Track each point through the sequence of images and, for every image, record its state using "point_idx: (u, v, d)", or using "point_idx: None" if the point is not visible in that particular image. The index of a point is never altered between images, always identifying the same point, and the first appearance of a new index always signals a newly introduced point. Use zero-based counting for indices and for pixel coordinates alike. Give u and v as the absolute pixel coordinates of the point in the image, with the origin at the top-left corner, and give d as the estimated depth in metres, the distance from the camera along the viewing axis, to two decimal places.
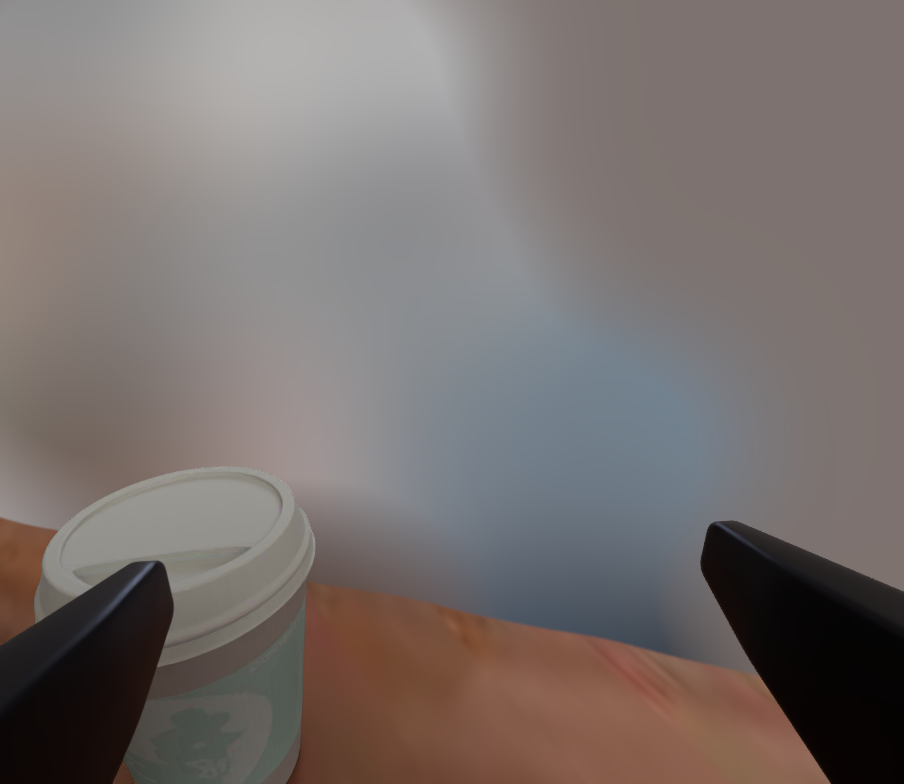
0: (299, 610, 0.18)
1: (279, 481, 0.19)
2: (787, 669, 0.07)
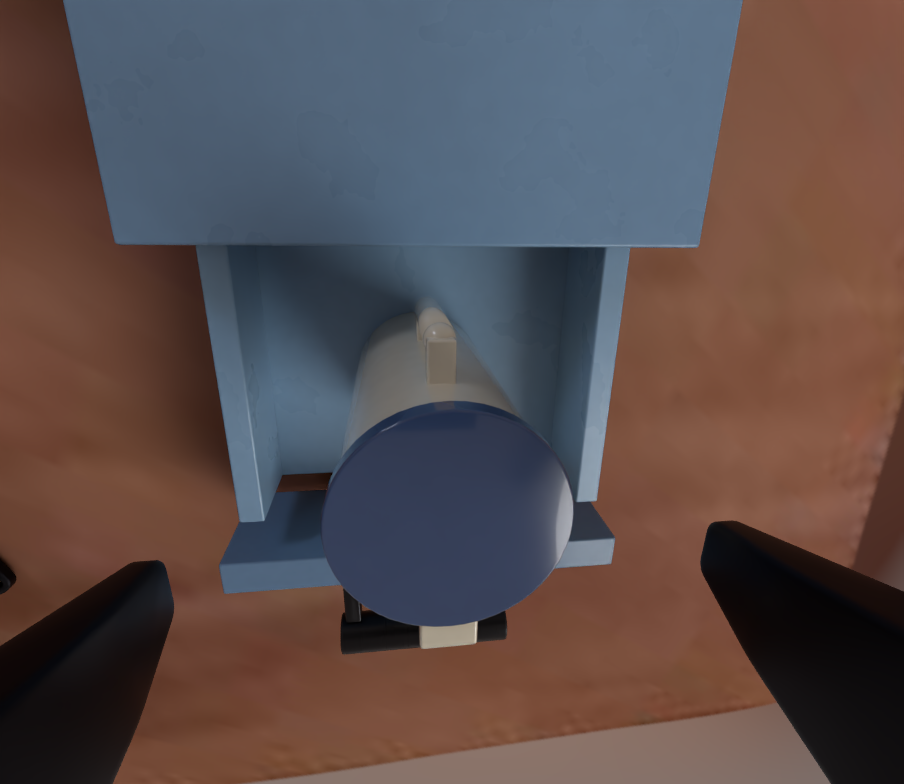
0: None
1: None
2: (787, 669, 0.07)
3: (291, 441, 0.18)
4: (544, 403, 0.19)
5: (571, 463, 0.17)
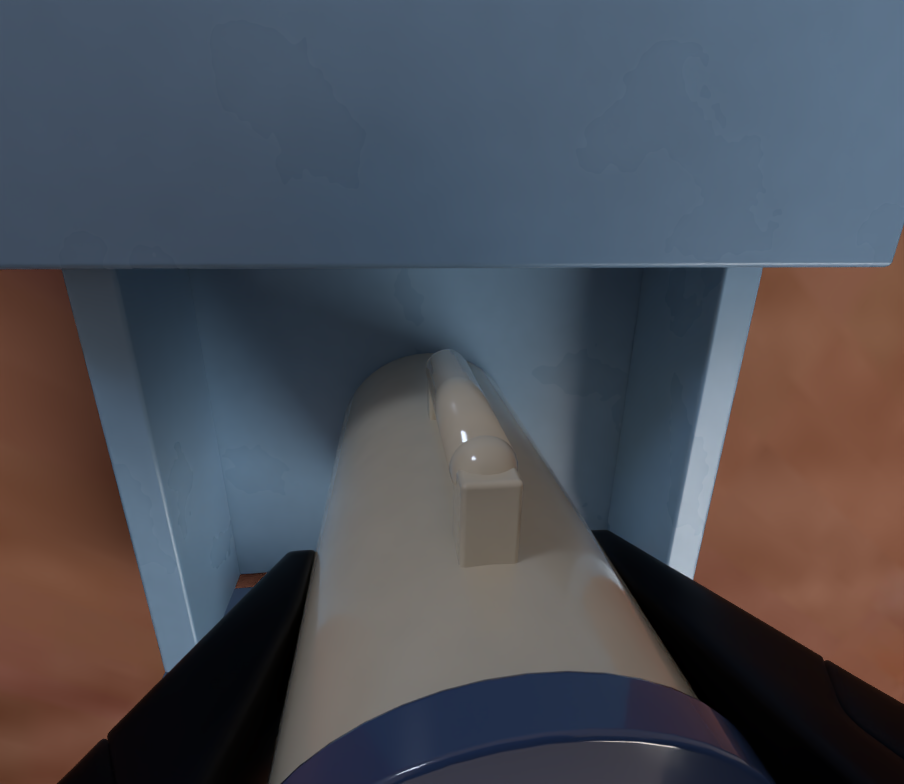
0: None
1: None
2: None
3: (251, 531, 0.13)
4: (600, 472, 0.14)
5: None
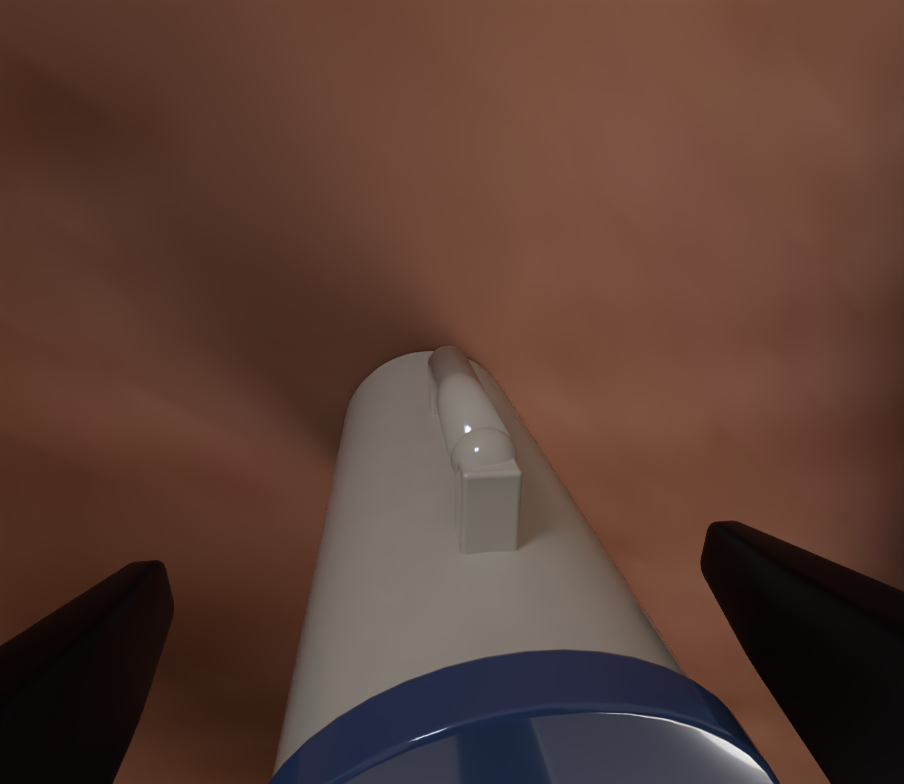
0: None
1: None
2: (787, 669, 0.07)
3: None
4: None
5: None
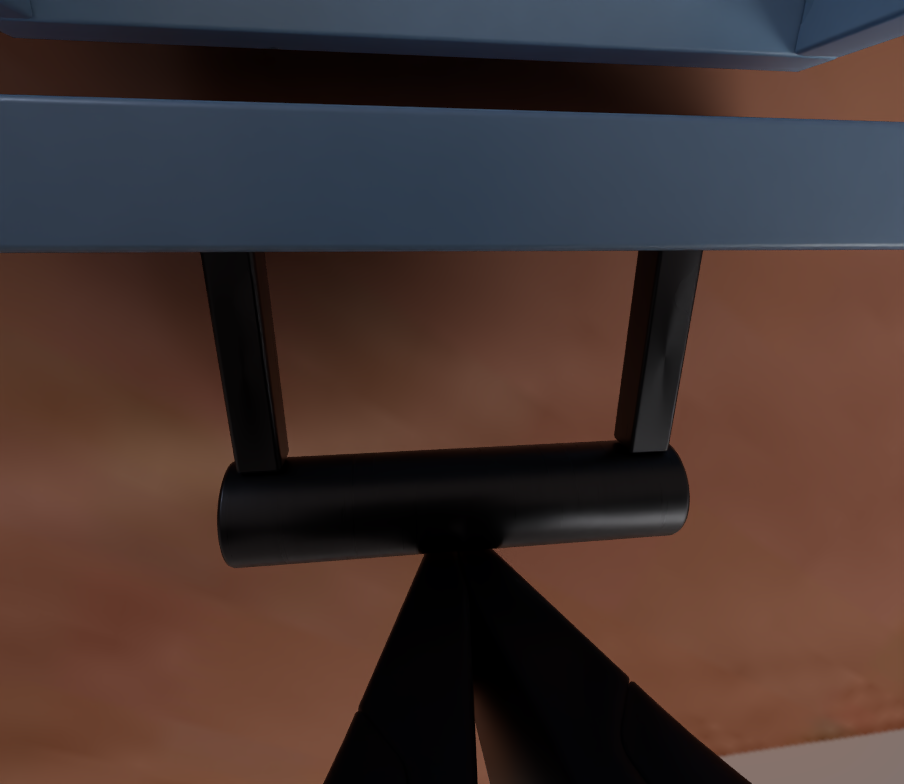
0: None
1: None
2: (480, 702, 0.06)
3: None
4: None
5: None
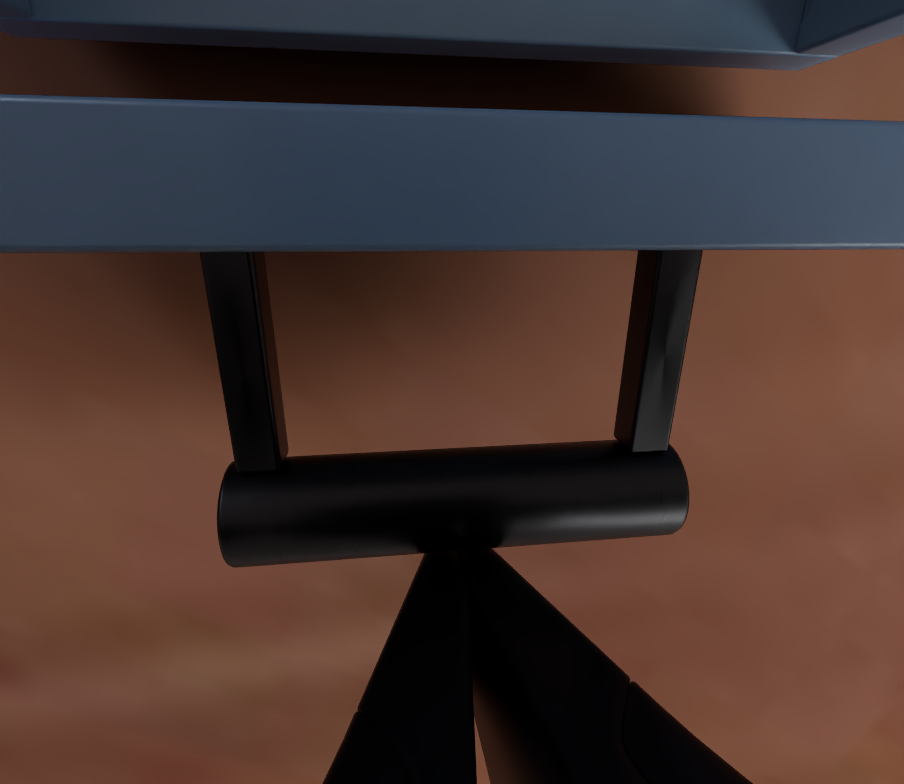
0: None
1: None
2: (480, 703, 0.06)
3: None
4: None
5: None
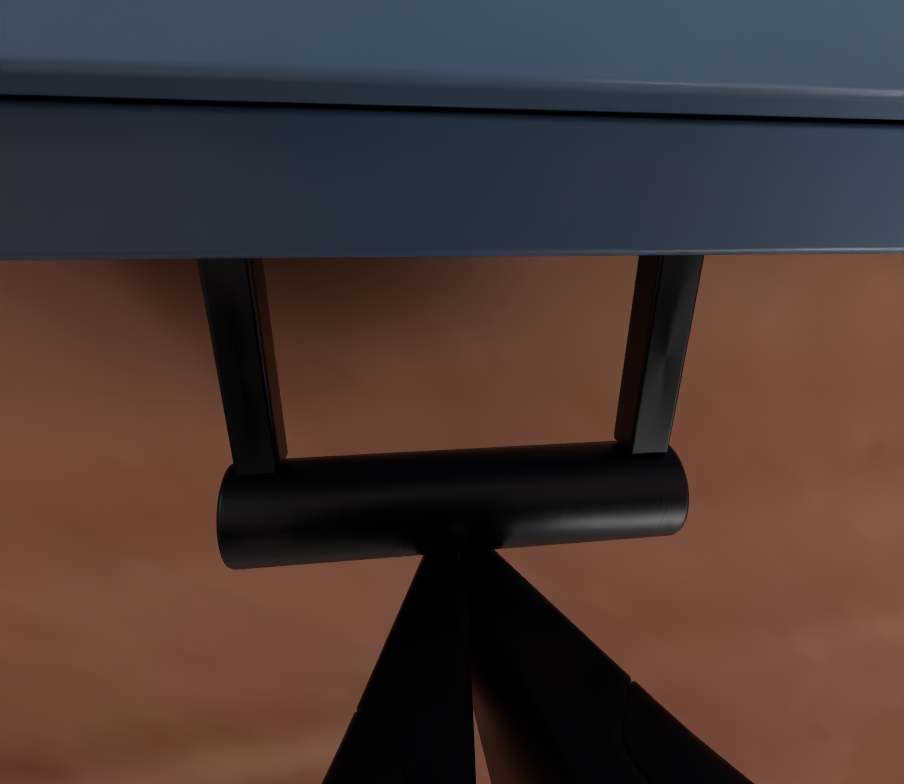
0: None
1: None
2: (481, 702, 0.06)
3: None
4: None
5: None
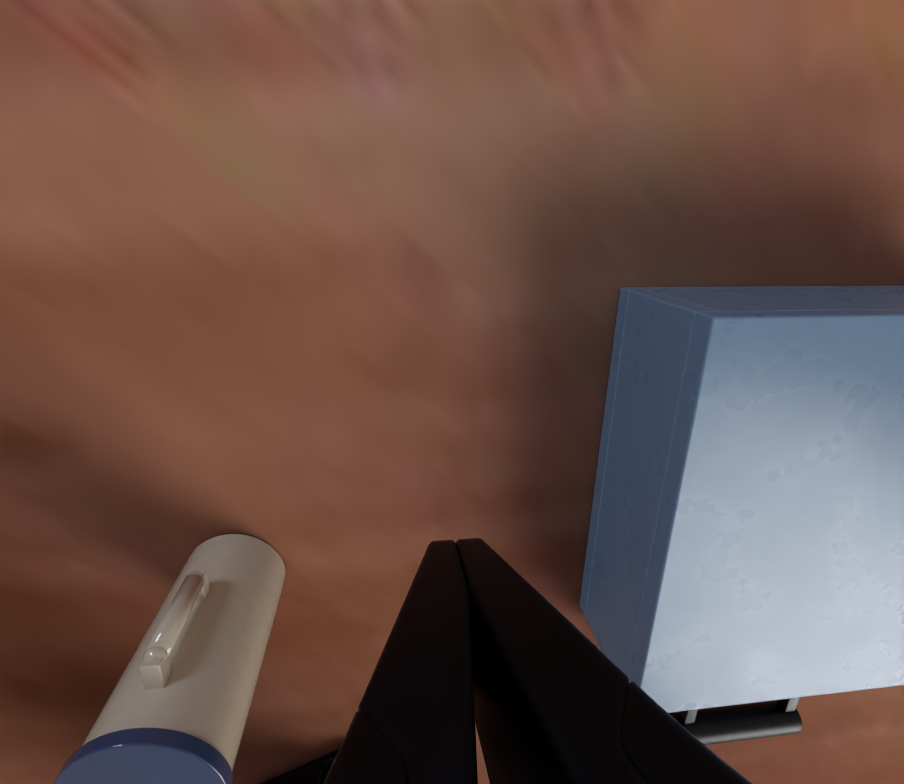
0: None
1: None
2: (480, 703, 0.06)
3: None
4: None
5: None
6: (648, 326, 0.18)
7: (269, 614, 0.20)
